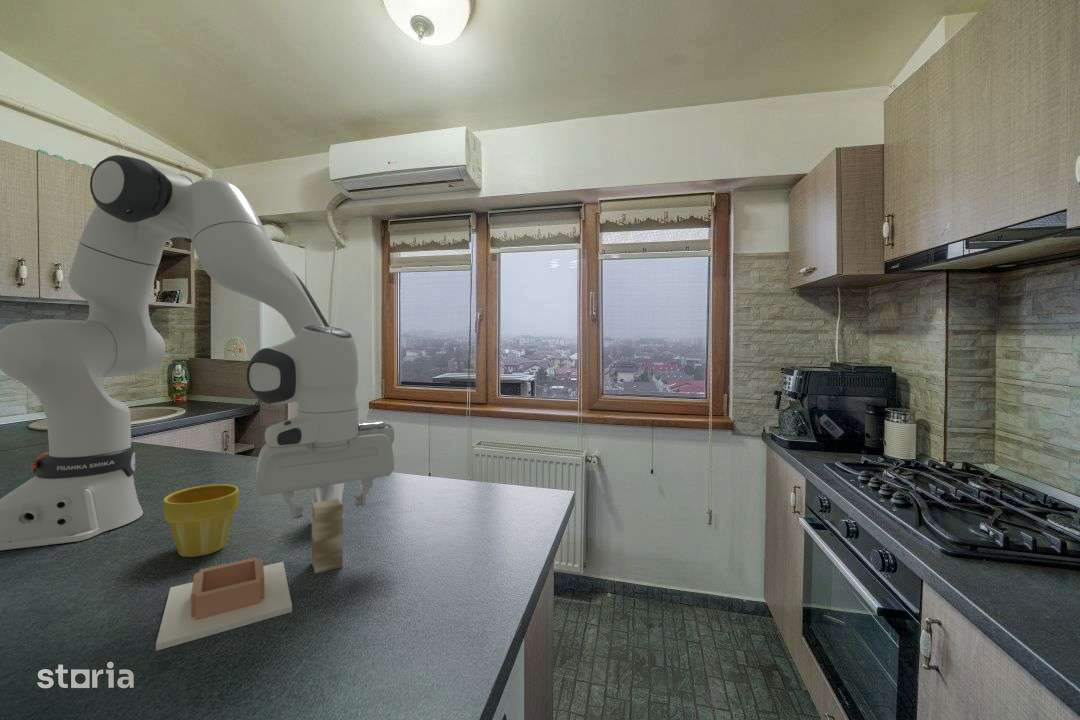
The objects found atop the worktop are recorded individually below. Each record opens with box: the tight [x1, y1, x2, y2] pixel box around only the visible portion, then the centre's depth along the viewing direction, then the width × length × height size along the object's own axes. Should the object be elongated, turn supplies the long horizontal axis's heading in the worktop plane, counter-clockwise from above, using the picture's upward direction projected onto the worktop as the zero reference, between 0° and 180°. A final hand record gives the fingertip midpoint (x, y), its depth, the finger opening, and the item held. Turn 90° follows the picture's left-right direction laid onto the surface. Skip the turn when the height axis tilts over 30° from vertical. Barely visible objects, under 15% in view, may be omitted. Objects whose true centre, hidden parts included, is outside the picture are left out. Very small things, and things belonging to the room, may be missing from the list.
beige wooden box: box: [311, 499, 344, 574], centre depth 72 cm, size 4×4×10 cm
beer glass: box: [309, 483, 345, 525], centre depth 89 cm, size 7×7×15 cm
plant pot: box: [162, 483, 240, 558], centre depth 76 cm, size 10×10×10 cm
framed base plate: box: [155, 556, 293, 651], centre depth 61 cm, size 14×14×4 cm
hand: (329, 510), depth 72 cm, fingers open, 8 cm apart
